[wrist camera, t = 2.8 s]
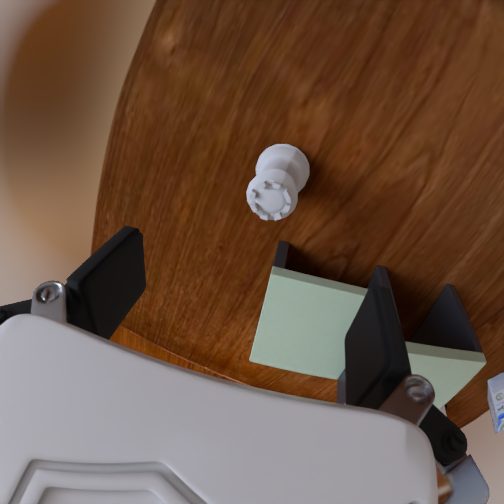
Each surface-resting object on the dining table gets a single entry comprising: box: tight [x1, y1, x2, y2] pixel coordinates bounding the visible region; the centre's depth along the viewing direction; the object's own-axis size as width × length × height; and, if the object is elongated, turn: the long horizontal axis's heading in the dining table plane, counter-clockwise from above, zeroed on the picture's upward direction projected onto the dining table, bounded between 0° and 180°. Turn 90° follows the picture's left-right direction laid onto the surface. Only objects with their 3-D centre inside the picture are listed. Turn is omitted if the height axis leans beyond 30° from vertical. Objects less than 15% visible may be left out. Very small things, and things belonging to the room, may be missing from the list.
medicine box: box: [487, 372, 504, 433], centre depth 29 cm, size 8×4×9 cm, turn 37°
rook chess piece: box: [247, 144, 309, 221], centre depth 21 cm, size 4×4×8 cm
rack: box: [249, 241, 487, 409], centre depth 26 cm, size 12×20×11 cm, turn 81°
